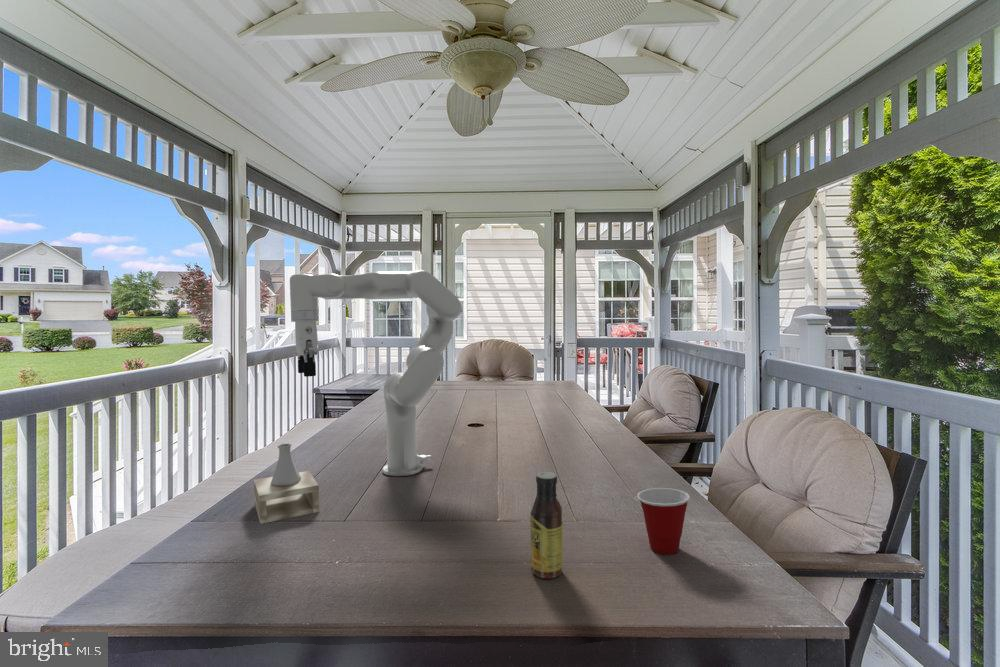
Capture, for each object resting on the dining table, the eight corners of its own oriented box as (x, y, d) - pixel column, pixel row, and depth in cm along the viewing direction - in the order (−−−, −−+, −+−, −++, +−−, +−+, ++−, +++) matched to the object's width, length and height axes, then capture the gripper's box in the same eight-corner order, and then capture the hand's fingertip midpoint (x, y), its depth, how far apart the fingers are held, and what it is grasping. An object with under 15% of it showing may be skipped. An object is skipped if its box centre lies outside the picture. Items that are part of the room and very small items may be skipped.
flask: (290, 487, 133) (288, 449, 132) (265, 486, 134) (263, 448, 134) (306, 478, 140) (304, 441, 139) (282, 477, 141) (280, 440, 141)
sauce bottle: (528, 565, 105) (527, 469, 104) (559, 563, 106) (558, 467, 105) (533, 582, 99) (532, 480, 98) (566, 580, 99) (565, 478, 98)
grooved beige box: (309, 495, 147) (308, 470, 146) (319, 511, 135) (318, 485, 134) (254, 505, 140) (253, 479, 139) (260, 523, 128) (259, 495, 127)
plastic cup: (649, 533, 119) (649, 481, 118) (697, 546, 112) (697, 491, 112) (628, 550, 111) (628, 495, 110) (678, 566, 104) (678, 507, 103)
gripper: (324, 316, 147) (326, 376, 148) (312, 315, 162) (314, 370, 163) (296, 317, 143) (298, 378, 144) (286, 316, 158) (288, 372, 159)
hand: (306, 374), depth 153 cm, fingers open, 9 cm apart
